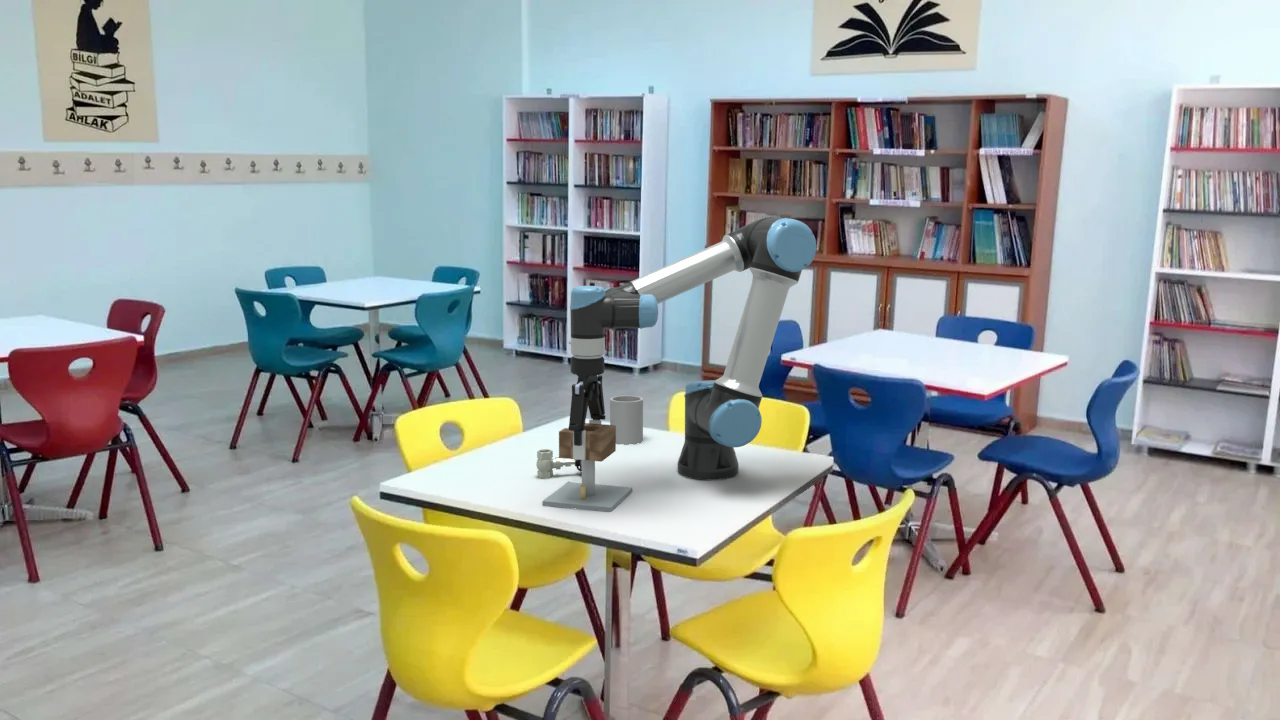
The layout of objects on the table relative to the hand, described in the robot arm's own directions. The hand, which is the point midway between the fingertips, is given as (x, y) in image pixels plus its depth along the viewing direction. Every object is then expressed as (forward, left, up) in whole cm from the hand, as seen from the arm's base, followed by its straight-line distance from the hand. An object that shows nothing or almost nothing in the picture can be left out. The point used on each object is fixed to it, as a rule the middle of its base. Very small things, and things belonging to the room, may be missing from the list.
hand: (587, 453), depth 233 cm
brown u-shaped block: (0, 0, 0) cm, 0 cm away
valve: (+13, -16, -11) cm, 23 cm away
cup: (+8, -55, -11) cm, 56 cm away
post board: (0, 0, -11) cm, 11 cm away
